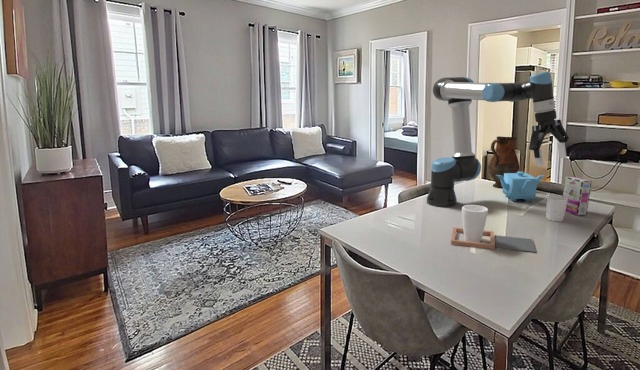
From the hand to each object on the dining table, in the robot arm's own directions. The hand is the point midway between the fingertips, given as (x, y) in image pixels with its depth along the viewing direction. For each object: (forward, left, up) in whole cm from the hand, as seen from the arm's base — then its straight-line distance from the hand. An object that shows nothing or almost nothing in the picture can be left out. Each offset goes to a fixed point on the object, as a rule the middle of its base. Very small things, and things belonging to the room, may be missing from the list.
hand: (551, 161), depth 160 cm
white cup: (+5, +9, -28) cm, 30 cm away
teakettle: (-7, +40, -28) cm, 50 cm away
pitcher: (-15, +66, -28) cm, 74 cm away
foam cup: (-29, -28, -28) cm, 49 cm away
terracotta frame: (-29, -28, -28) cm, 49 cm away
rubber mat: (-14, -28, -28) cm, 42 cm away
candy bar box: (+15, +23, -28) cm, 40 cm away
